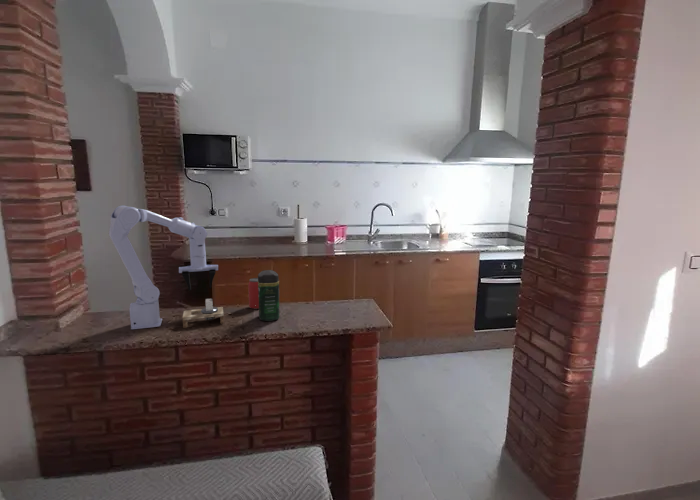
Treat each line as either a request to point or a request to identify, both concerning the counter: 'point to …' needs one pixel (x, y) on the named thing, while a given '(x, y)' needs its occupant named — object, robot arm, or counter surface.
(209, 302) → the hanger peg
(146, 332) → the counter surface
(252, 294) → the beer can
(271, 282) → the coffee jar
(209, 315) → the keyhole bridge
